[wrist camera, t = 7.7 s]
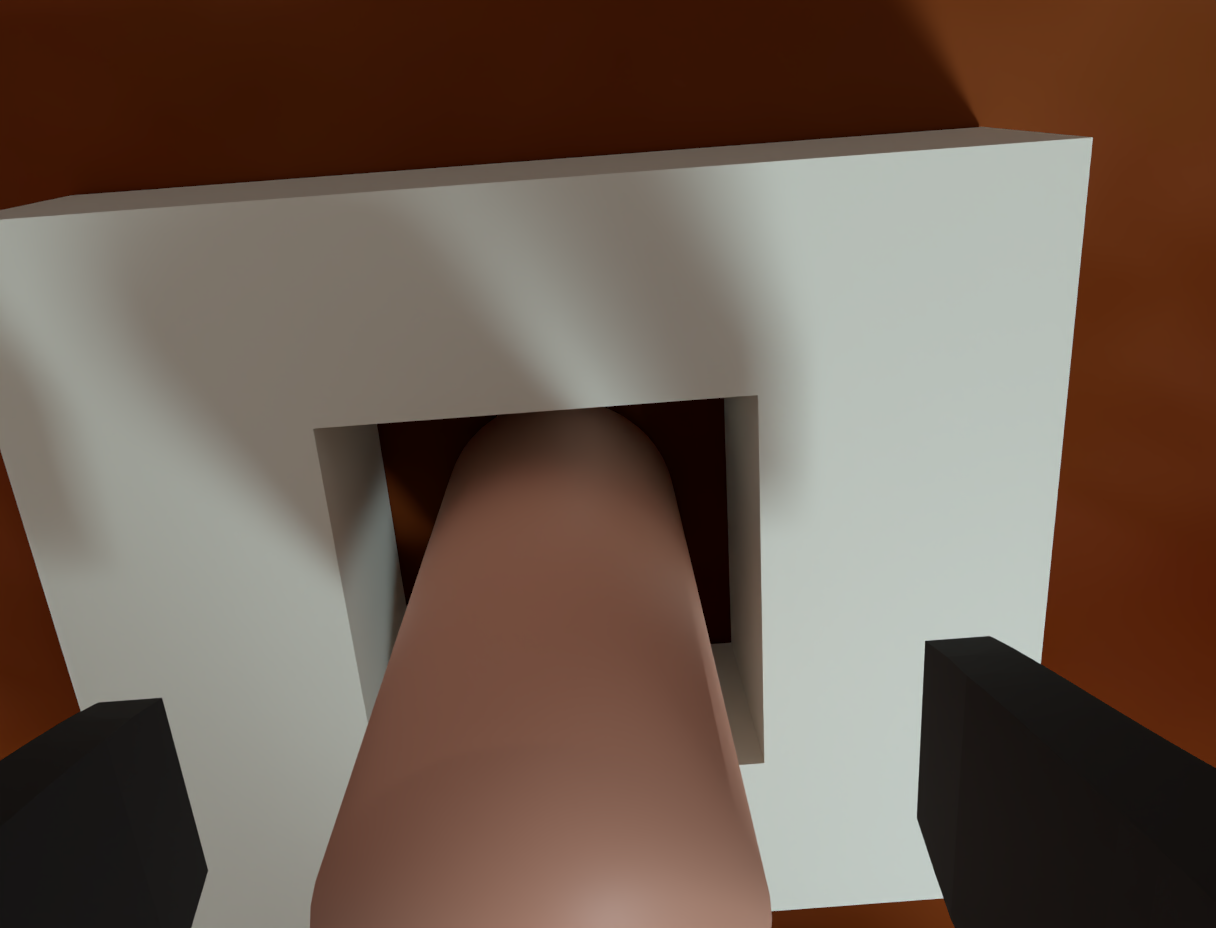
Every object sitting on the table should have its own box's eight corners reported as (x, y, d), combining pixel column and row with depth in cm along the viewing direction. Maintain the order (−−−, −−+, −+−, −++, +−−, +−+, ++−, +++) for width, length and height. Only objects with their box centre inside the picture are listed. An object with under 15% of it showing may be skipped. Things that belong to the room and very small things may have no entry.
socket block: (982, 126, 13) (1092, 138, 10) (943, 756, 17) (1018, 893, 14) (70, 195, 13) (-69, 225, 10) (228, 810, 17) (157, 958, 14)
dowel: (669, 390, 14) (770, 724, 7) (679, 599, 15) (773, 1081, 8) (432, 408, 14) (270, 761, 7) (461, 616, 15) (350, 1113, 8)
